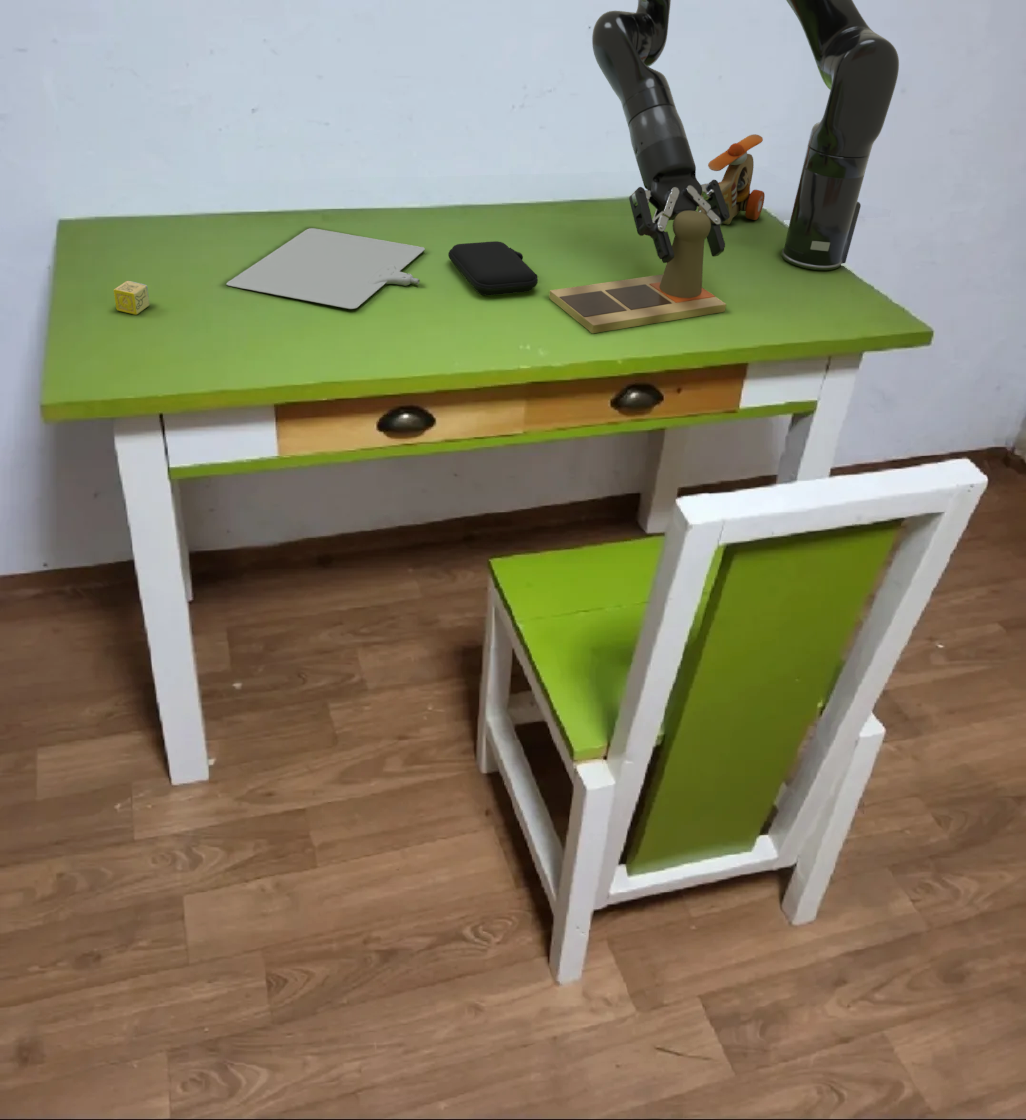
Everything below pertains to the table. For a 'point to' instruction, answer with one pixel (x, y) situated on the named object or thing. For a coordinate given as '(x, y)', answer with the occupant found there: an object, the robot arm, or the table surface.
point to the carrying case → (493, 268)
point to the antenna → (330, 268)
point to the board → (630, 304)
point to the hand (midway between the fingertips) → (694, 257)
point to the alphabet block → (131, 297)
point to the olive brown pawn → (686, 255)
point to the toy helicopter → (739, 179)
